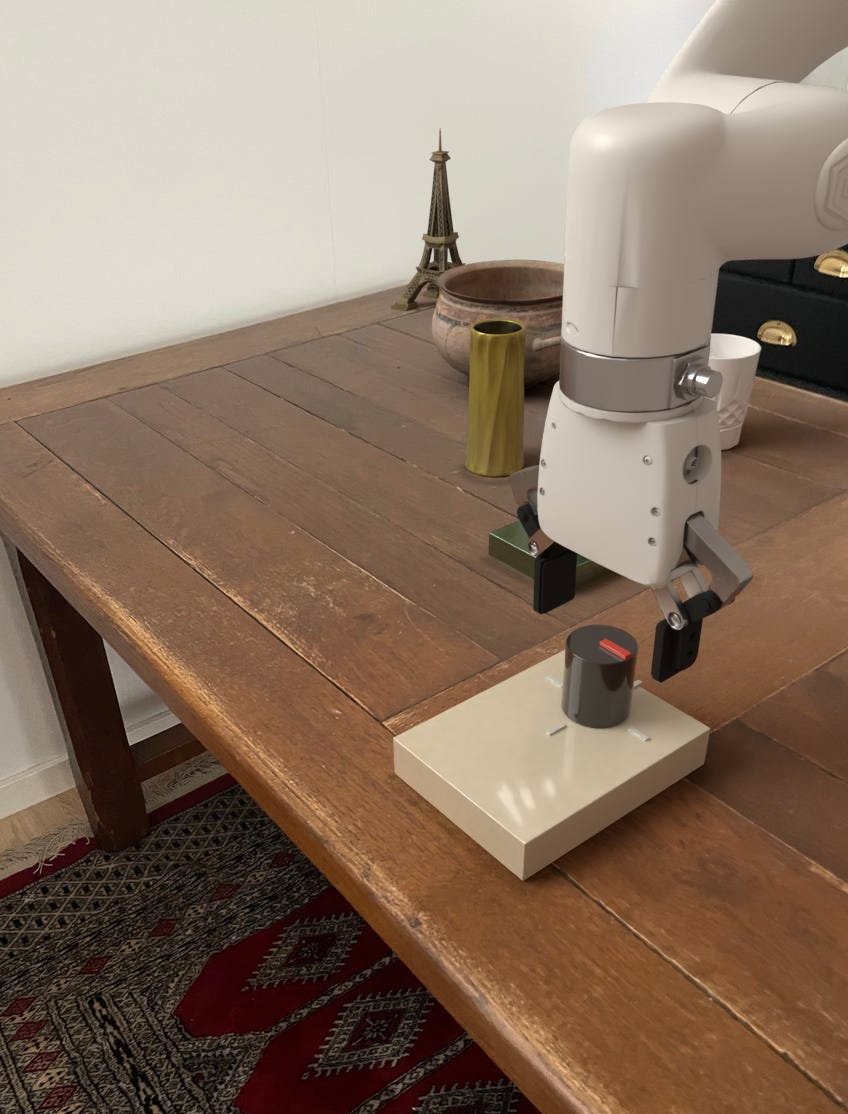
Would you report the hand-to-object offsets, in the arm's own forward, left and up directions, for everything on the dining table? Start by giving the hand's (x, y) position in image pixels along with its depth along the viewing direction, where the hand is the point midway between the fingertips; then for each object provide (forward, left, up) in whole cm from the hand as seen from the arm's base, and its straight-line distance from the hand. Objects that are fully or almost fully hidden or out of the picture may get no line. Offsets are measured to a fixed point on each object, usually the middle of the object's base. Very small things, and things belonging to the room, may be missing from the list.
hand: (610, 636), depth 64 cm
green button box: (-17, -19, -8) cm, 27 cm away
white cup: (-45, -27, -9) cm, 54 cm away
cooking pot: (-42, -54, -9) cm, 69 cm away
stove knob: (+1, 0, -5) cm, 5 cm away
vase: (-24, -37, -9) cm, 45 cm away
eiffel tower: (-57, -85, -9) cm, 103 cm away
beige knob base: (+5, 0, -8) cm, 10 cm away
